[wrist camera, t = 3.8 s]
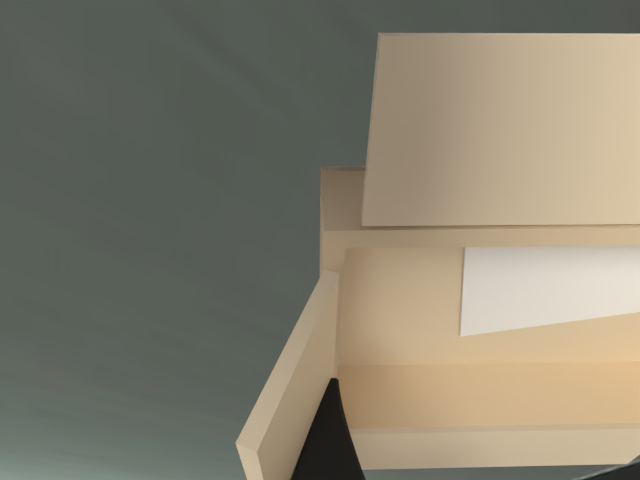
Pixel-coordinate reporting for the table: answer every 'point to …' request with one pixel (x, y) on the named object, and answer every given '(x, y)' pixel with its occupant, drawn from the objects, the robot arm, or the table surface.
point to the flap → (293, 390)
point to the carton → (491, 253)
